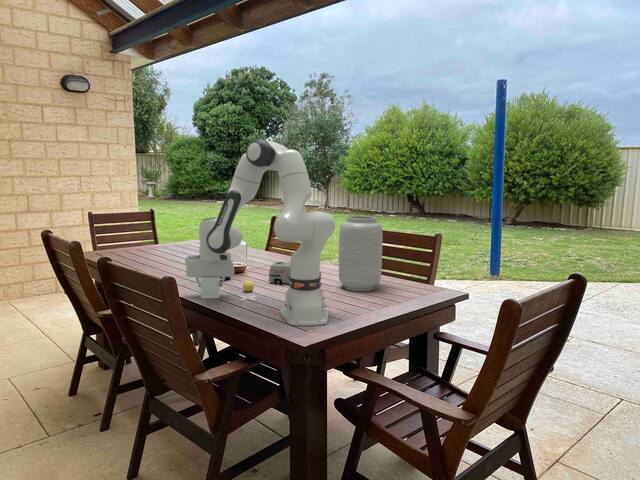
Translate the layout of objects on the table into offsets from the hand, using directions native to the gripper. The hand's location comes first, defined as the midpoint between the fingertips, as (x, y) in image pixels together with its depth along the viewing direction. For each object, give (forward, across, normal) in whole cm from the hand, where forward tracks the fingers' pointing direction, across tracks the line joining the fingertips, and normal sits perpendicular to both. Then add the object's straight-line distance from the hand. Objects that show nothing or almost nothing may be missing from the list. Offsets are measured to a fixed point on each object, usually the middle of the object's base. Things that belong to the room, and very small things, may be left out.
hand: (210, 286), depth 200 cm
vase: (+4, +68, +10) cm, 69 cm away
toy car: (+5, +38, +21) cm, 44 cm away
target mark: (+4, +16, -5) cm, 17 cm away
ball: (+2, +16, +7) cm, 18 cm away
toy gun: (+4, +2, +27) cm, 27 cm away
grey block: (+4, 0, 0) cm, 4 cm away
